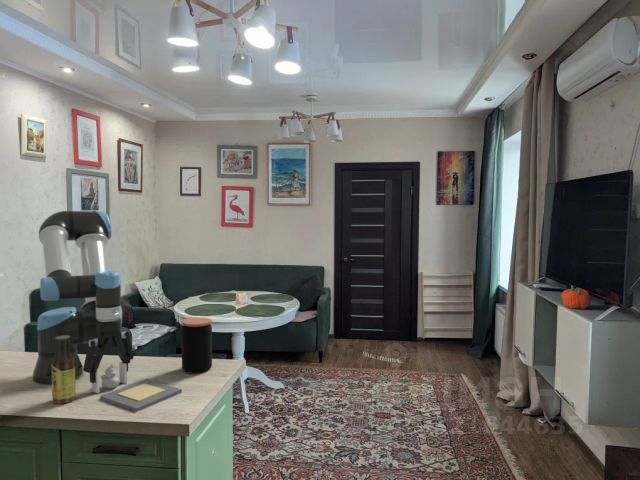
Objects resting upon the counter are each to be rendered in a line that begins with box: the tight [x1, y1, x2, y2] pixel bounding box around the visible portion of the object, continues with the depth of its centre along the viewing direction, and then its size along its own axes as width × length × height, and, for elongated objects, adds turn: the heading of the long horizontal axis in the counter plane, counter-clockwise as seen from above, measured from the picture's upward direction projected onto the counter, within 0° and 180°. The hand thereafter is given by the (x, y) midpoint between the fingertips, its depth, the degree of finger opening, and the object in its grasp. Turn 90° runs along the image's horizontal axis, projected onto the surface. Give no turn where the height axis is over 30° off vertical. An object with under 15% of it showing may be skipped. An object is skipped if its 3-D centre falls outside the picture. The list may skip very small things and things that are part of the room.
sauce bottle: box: [51, 335, 77, 405], centre depth 140 cm, size 7×6×20 cm
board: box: [99, 378, 183, 413], centre depth 145 cm, size 17×17×1 cm
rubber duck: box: [100, 364, 120, 389], centre depth 152 cm, size 5×7×8 cm
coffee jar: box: [181, 317, 213, 374], centre depth 170 cm, size 11×11×18 cm
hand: (109, 386), depth 152 cm, fingers open, 9 cm apart
